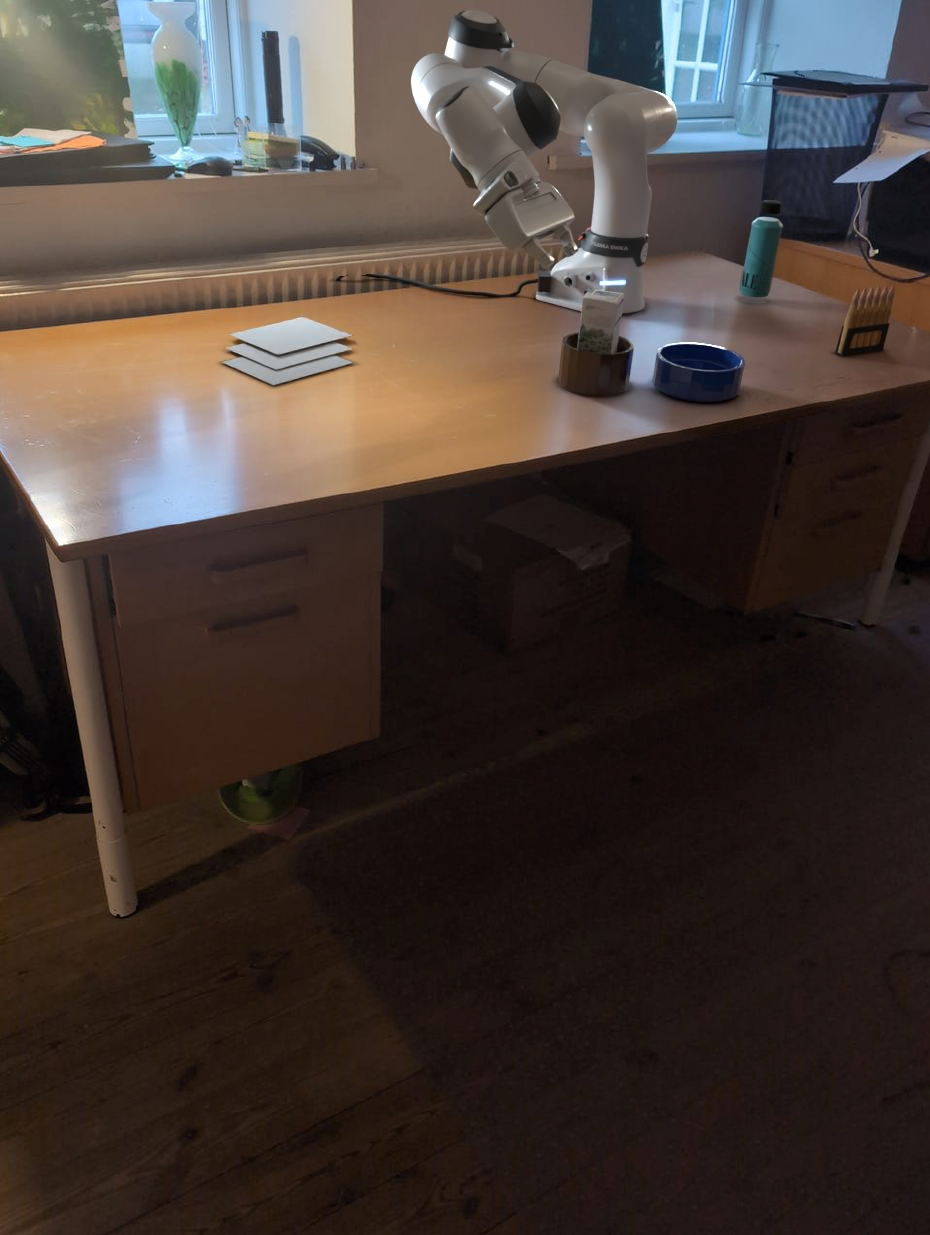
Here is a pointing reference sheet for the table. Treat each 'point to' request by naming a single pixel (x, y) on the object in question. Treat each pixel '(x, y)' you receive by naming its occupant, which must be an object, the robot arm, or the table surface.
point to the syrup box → (600, 321)
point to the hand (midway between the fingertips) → (562, 259)
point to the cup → (595, 368)
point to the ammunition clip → (866, 322)
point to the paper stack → (288, 350)
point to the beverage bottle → (762, 252)
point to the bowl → (698, 372)
